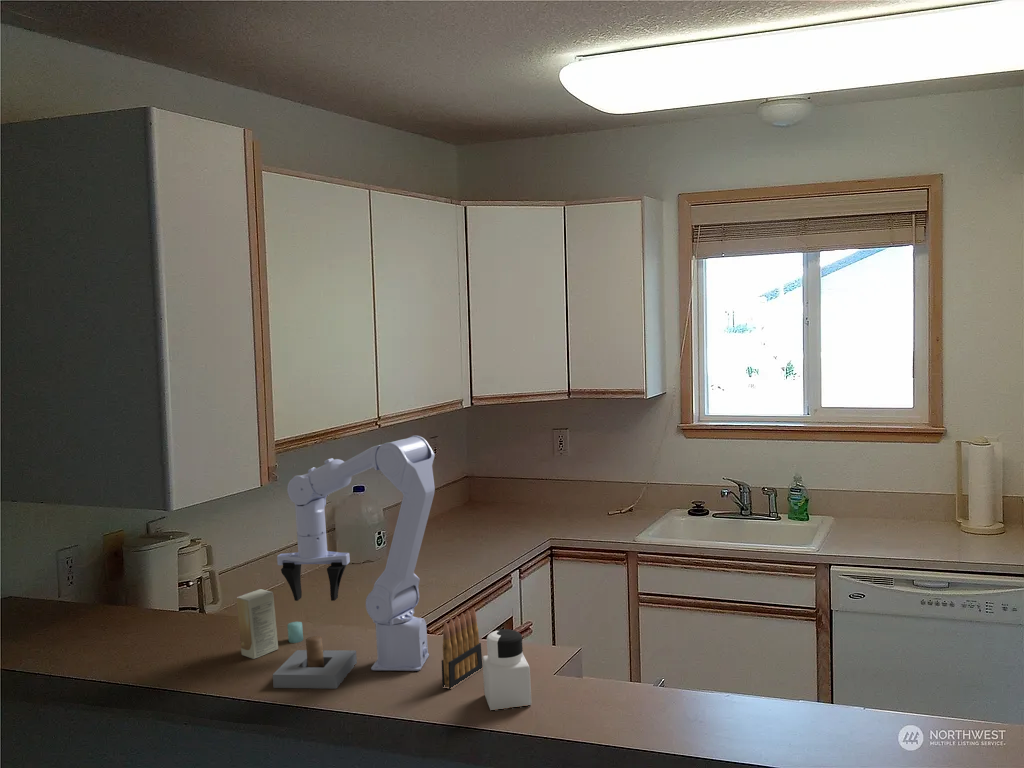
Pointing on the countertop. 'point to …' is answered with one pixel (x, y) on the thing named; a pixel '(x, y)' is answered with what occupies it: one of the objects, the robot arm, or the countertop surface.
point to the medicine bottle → (506, 671)
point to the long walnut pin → (314, 652)
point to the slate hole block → (315, 670)
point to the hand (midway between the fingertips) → (316, 599)
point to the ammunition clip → (460, 649)
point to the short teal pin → (295, 632)
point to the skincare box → (257, 623)
